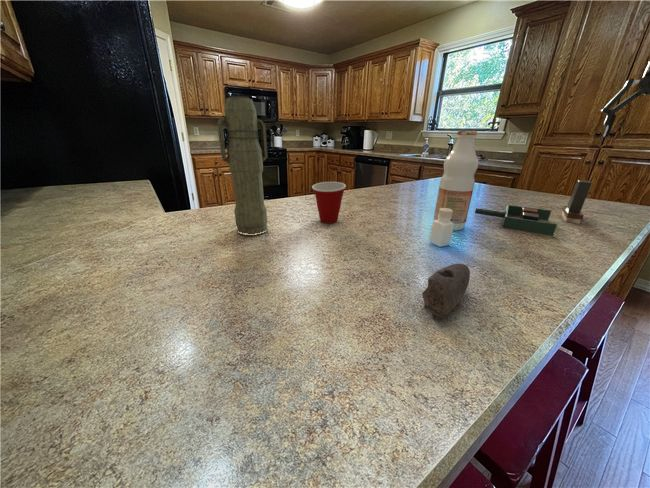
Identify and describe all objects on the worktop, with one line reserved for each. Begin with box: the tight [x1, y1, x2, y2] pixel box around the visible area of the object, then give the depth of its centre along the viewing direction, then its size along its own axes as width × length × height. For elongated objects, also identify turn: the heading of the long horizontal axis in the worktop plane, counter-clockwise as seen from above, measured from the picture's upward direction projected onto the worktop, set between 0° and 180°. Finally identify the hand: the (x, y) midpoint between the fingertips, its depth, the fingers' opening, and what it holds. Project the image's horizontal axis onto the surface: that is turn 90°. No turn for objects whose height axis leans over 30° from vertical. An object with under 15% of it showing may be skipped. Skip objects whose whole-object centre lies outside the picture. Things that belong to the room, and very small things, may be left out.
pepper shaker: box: [429, 208, 454, 248], centre depth 70 cm, size 4×4×10 cm
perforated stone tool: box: [421, 263, 471, 319], centre depth 46 cm, size 15×5×7 cm, turn 135°
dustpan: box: [474, 204, 558, 236], centre depth 90 cm, size 22×18×4 cm
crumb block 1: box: [519, 206, 538, 219], centre depth 90 cm, size 4×4×4 cm
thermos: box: [216, 95, 269, 237], centre depth 72 cm, size 9×12×35 cm
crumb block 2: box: [521, 212, 540, 221], centre depth 85 cm, size 4×4×4 cm
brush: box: [561, 179, 593, 225], centre depth 92 cm, size 4×12×13 cm, turn 146°
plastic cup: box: [311, 181, 347, 224], centre depth 86 cm, size 11×11×12 cm
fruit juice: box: [432, 130, 479, 231], centre depth 80 cm, size 9×9×28 cm
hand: (634, 137), depth 85 cm, fingers open, 13 cm apart
